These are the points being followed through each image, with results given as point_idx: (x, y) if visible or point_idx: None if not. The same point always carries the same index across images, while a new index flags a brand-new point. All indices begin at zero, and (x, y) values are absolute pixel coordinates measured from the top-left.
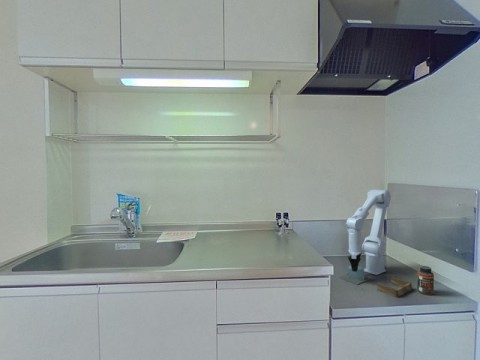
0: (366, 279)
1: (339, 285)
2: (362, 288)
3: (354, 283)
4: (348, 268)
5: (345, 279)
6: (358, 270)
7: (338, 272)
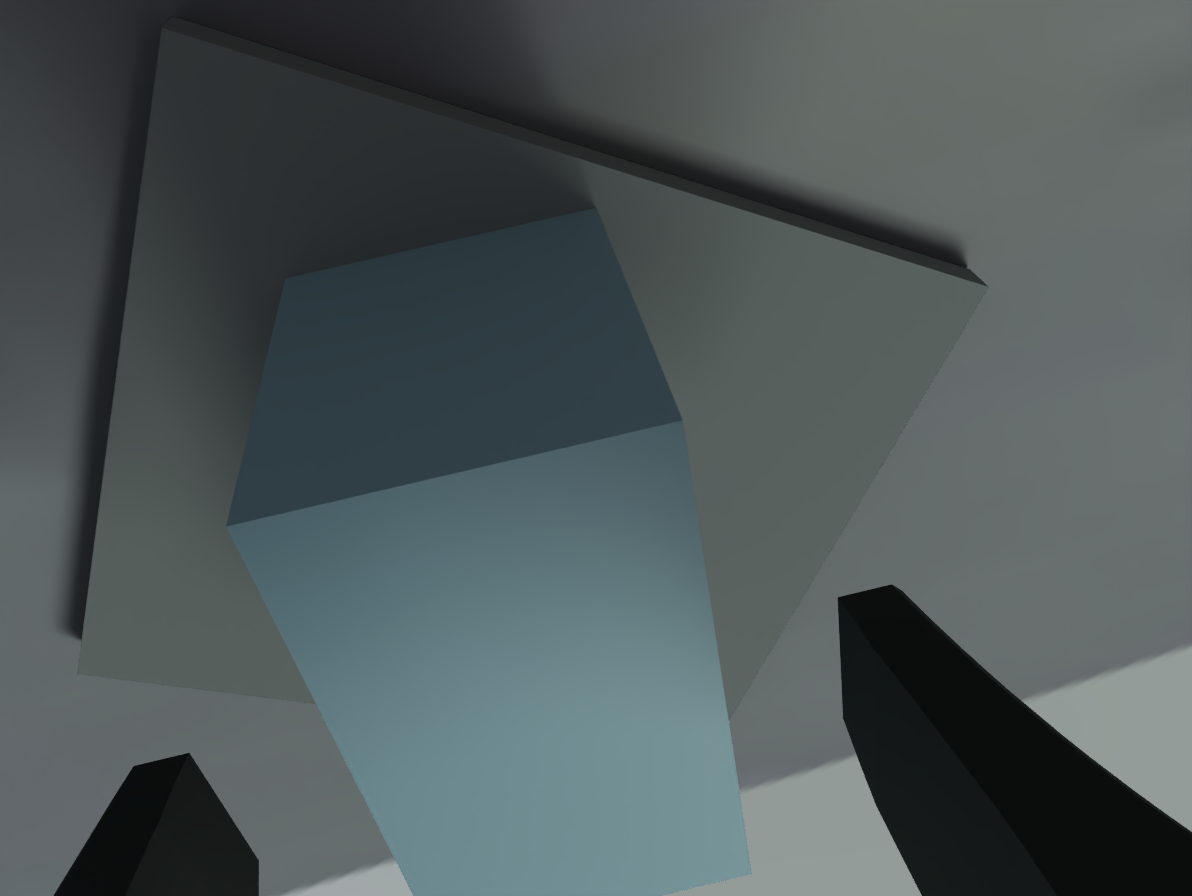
0: (451, 152)
1: (1141, 592)
2: (1186, 75)
3: (916, 375)
4: (746, 866)
5: (780, 622)
6: (700, 586)
7: (347, 863)
